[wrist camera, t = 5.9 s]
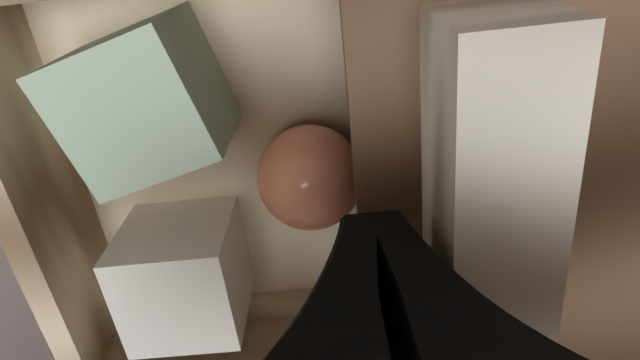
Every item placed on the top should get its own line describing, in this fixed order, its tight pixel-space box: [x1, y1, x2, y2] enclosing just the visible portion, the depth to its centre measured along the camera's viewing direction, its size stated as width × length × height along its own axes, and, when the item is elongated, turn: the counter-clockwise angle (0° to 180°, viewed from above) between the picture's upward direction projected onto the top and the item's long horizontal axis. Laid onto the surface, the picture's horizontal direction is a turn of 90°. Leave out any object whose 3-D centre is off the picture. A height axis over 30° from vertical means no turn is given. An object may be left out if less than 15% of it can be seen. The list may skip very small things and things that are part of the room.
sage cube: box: [16, 1, 242, 205], centre depth 14 cm, size 4×4×4 cm
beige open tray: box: [0, 0, 357, 360], centre depth 15 cm, size 13×16×4 cm
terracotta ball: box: [257, 124, 356, 231], centre depth 15 cm, size 3×3×3 cm
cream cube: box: [93, 195, 254, 360], centre depth 16 cm, size 4×4×4 cm
